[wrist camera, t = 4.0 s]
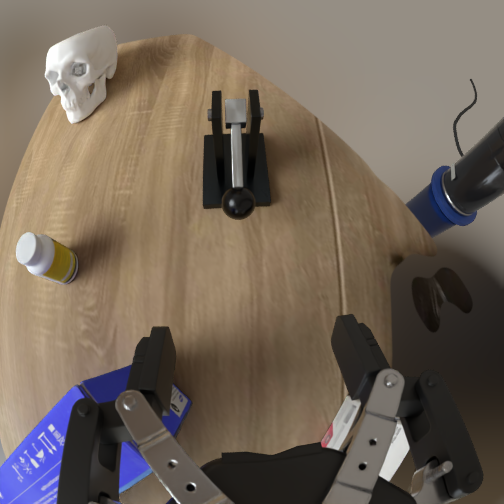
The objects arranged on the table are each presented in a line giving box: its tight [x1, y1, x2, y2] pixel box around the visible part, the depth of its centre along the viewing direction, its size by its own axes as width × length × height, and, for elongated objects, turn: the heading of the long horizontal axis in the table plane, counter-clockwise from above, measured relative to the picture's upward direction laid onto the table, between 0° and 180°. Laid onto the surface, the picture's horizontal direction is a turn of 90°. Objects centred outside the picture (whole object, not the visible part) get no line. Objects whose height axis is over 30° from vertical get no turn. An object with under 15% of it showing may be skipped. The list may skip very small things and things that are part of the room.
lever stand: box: [203, 90, 271, 209], centre depth 32 cm, size 12×9×14 cm
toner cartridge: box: [0, 365, 192, 504], centre depth 17 cm, size 39×8×18 cm, turn 135°
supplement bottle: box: [16, 232, 78, 284], centre depth 29 cm, size 5×5×10 cm
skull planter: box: [45, 25, 118, 124], centre depth 38 cm, size 14×20×19 cm
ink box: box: [321, 396, 410, 481], centre depth 24 cm, size 9×5×12 cm, turn 153°
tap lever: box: [221, 99, 255, 220], centre depth 28 cm, size 13×4×4 cm, turn 4°
